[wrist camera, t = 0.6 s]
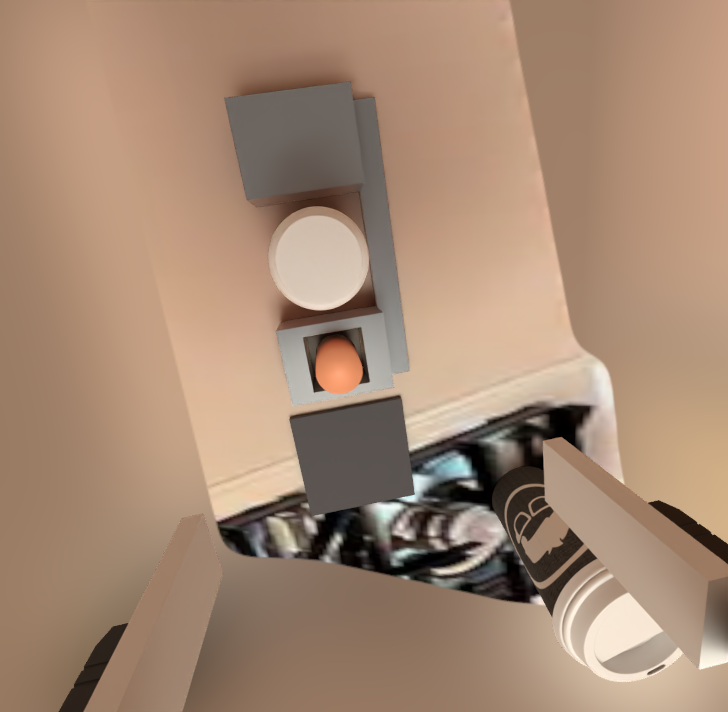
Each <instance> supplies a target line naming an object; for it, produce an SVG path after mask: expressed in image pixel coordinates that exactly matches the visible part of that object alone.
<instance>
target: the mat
mask: <svg viewBox="0 0 728 712" xmlns="http://www.w3.org/2000/svg"><path fill="white" fill-rule="evenodd" d="M290 424H291V428H292V432H293V437H294V441H295V446H296V450H297V454H298V459H299V463H300V468H301V472H302V477H303V481H304V485H305V490H306V494H307V499H308V503H309V507H310V512H311V516H314V515H319V514H324V513H329V512H334V511H338V510H343V509H348V508H353V507H358V506H362V505H367V504H372V503H377V502H382V501H386V500H391V499H396V498H401V497H405V496H410V495H415V493H414V486H413V479H412V471H411V464H410V457H409V450H408V442H407V435H406V428H405V421H404V414H403V406H402V399H401V397H396V398H390V399H385V400H380V401H375V402H369V403H364V404H359V405H354V406H348V407H343V408H338V409H332V410H327V411H322V412H317V413H311V414H306V415H301V416H296V417H290Z"/></svg>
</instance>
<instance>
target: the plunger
mask: <svg viewBox="0 0 728 712" xmlns="http://www.w3.org/2000/svg"><path fill="white" fill-rule="evenodd" d="M362 374H363V369H362V364H361V362H360V359H359V357H358V354H357V352H356V349H355V347H354V344H353V343H352V341H351V340H350V339H348V338H347V337H345V336H343V335H338V334H335V335H330V336H327V337H325V338H324V339H323V340H322V341H321V342H320V343H319V345H318V347H317V350H316V378H317V381H318V383H319V384H320V386H321V387H322V388H323V389H324V390H326V391H328V392H330V393H333V394H345V393H348V392H350V391H352V390H353V389H355V388H356V387H357V385H358V384H359V383H360V381H361V378H362Z"/></svg>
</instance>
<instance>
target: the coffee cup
mask: <svg viewBox="0 0 728 712" xmlns="http://www.w3.org/2000/svg"><path fill="white" fill-rule="evenodd" d="M492 504H493V508H494V510H495V512H496V514H497V516H498V518H499V520H500V521H501V523H502V525H503V527H504V529H505V531H506V532H507V534H508V536H509V538H510V540H511V542H512V543H513V545H514V547H515V549H516V551H517V553H518V555H519V556H520V558H521V560H522V562H523V564H524V566H525V568H526V569H527V571H528V573H529V575H530V577H531V579H532V580H533V582H534V584H535V586H536V588H537V590H538V592H539V594H540V595H541V597H542V599H543V601H544V603H545V605H546V607H547V609H548V610H549V612H550V614H551V616H552V626H553V631H554V634H555V637H556V639H557V641H558V643H559V644H560V645H561V646H562V647H563V648H564V650H566V651H567V653H568V654H569V655H571V656H572V657H573V658H574V659H576V660H577V661H578V662H579V663H581V664H583V665H584V666H586V667H589V668H590V669H591V670H592V671H593V672H594V673H595V674H597V675H598V676H600V677H602V678H604V679H607V680H610V681H615V682H630V681H636V680H640V679H644V678H647V677H650V676H652V675H654V674H656V673H658V672H660V671H662V670H663V669H665V668H667V667H668V666H669V665H671V664H672V663H673V662H675V661H676V660H677V659H678V658H679V657H680V656H681V655H682V654H683V652H682V651H681V650H680V648H679V647H678V646H677V645H676V644H675V643H674V642H673V641H672V640H671V639H670V637H669V636H668V635H667V634H666V633H665V632H664V631H663V630H662V629H661V628H660V626H659V625H658V624H657V623H656V622H655V621H654V620H653V619H652V618H651V617H650V615H649V614H648V613H647V612H646V611H645V610H644V609H643V608H642V607H641V606H640V604H639V603H638V602H637V601H636V600H635V599H634V598H633V597H632V596H631V595H630V593H629V592H628V591H627V590H626V589H625V588H624V587H623V586H622V585H621V584H620V582H619V581H618V580H617V579H616V578H615V577H614V576H613V575H612V574H611V573H610V571H609V570H608V569H607V568H606V567H605V566H604V565H603V564H602V563H601V562H600V561H599V559H598V558H597V557H596V556H595V555H594V554H593V553H592V552H591V551H590V550H589V548H588V547H587V546H586V545H585V544H584V543H583V542H582V541H581V540H580V539H579V537H578V536H577V535H576V534H575V533H574V532H573V531H572V530H571V529H570V528H569V526H568V525H567V524H566V523H565V522H564V521H563V520H562V519H561V518H560V517H559V515H558V514H557V513H556V512H555V511H554V510H553V509H552V508H551V507H550V506H549V504H548V503H547V502H546V501H545V486H544V471H543V470H541V469H539V468H536V467H530V466H526V467H520V468H517V469H514V470H512V471H510V472H508V473H507V474H506V475H504V476H503V477H502V478H501V479H500V480H499V482H498V483H497V485H496V486H495V488H494V491H493V495H492Z"/></svg>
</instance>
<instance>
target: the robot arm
mask: <svg viewBox="0 0 728 712" xmlns="http://www.w3.org/2000/svg"><path fill="white" fill-rule="evenodd" d="M543 460H544V486H545V501H546V502H547V503H548V504H549V506H550V507H551V508H552V509H553V510H554V511H555V512H556V513H557V514H558V515H559V517H560V518H561V519H562V520H563V521H564V522H565V523H566V524H567V525H568V526H569V528H570V529H571V530H572V531H573V532H574V533H575V534H576V535H577V536H578V537H579V539H580V540H581V541H582V542H583V543H584V544H585V545H586V546H587V547H588V548H589V550H590V551H591V552H592V553H593V554H594V555H595V556H596V557H597V558H598V559H599V561H600V562H601V563H602V564H603V565H604V566H605V567H606V568H607V569H608V570H609V571H610V573H611V574H612V575H613V576H614V577H615V578H616V579H617V580H618V581H619V582H620V584H621V585H622V586H623V587H624V588H625V589H626V590H627V591H628V592H629V593H630V595H631V596H632V597H633V598H634V599H635V600H636V601H637V602H638V603H639V604H640V606H641V607H642V608H643V609H644V610H645V611H646V612H647V613H648V614H649V615H650V617H651V618H652V619H653V620H654V621H655V622H656V623H657V624H658V625H659V626H660V628H661V629H662V630H663V631H664V632H665V633H666V634H667V635H668V636H669V637H670V639H671V640H672V641H673V642H674V643H675V644H676V645H677V646H678V647H679V648H680V650H681V651H682V652H683V653H684V654H685V655H686V656H687V657H688V658H689V659H690V660H691V662H692V663H693V664H694V665H695V666H696V667H697V668H698V669H699V670H700V669H704V668H707V667H711V666H715V665H719V664H723V663H726V662H728V544H727V543H726V542H724V541H723V540H721V539H720V538H718V537H717V536H716V535H712V534H711V532H710V531H709V530H707V529H706V528H705V527H703V526H702V525H700V524H699V525H698V524H697V522H696V521H695V520H693V519H692V518H691V517H689V516H688V515H686V514H685V513H684V512H682V511H680V510H679V509H677V508H675V507H673V506H670V505H668V504H666V503H663V502H661V501H659V500H658V501H654V502H649V503H647V502H646V501H644V500H643V499H642V498H640V497H639V496H637V494H635V493H634V492H633V491H631V490H630V489H629V488H627V487H626V486H625V485H623V484H622V483H621V482H620V481H618V480H617V479H616V478H614V477H613V476H612V475H610V474H609V473H608V472H606V471H605V470H604V469H603V468H601V467H600V466H599V465H597V464H596V463H595V462H593V461H592V460H591V459H589V458H588V457H587V456H586V455H584V454H583V453H582V452H580V451H579V450H578V449H576V448H575V447H574V446H572V445H571V444H570V443H569V442H567V441H566V440H565V439H563V438H562V437H559V438H555V439H550V440H545V441H543ZM222 575H223V571H222V569H221V566H220V562H219V559H218V556H217V553H216V550H215V548H214V545H213V542H212V539H211V536H210V533H209V530H208V527H207V524H206V521H205V518H204V515H203V514H199V515H195V516H189V517H185V518H182V519H181V521H180V523H179V525H178V527H177V529H176V531H175V533H174V535H173V537H172V539H171V541H170V543H169V545H168V547H167V549H166V551H165V553H164V555H163V556H162V558H161V560H160V562H159V564H158V566H157V568H156V570H155V572H154V574H153V576H152V578H151V580H150V582H149V584H148V586H147V588H146V590H145V592H144V594H143V596H142V598H141V600H140V602H139V604H138V606H137V608H136V610H135V612H134V614H133V616H132V618H131V619H130V621H129V623H126V624H122V625H118V626H114V627H112V628H111V630H110V631H109V632H108V633H107V634H106V635H105V636H104V637H103V639H102V640H101V641H100V642H99V643H98V644H97V645H96V646H95V648H94V650H93V652H92V653H91V655H90V657H89V659H88V661H87V662H86V664H85V666H84V670H83V671H81V673H80V675H79V677H78V678H77V680H76V682H75V684H74V688H73V689H71V691H70V693H69V694H68V696H67V698H66V700H65V701H64V703H63V705H62V707H61V709H60V711H59V712H182V710H183V707H184V704H185V700H186V697H187V694H188V690H189V687H190V683H191V680H192V677H193V673H194V670H195V666H196V663H197V660H198V656H199V653H200V650H201V646H202V642H203V639H204V635H205V633H206V629H207V626H208V622H209V619H210V616H211V612H212V608H213V605H214V602H215V599H216V595H217V592H218V588H219V585H220V582H221V578H222Z"/></svg>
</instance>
